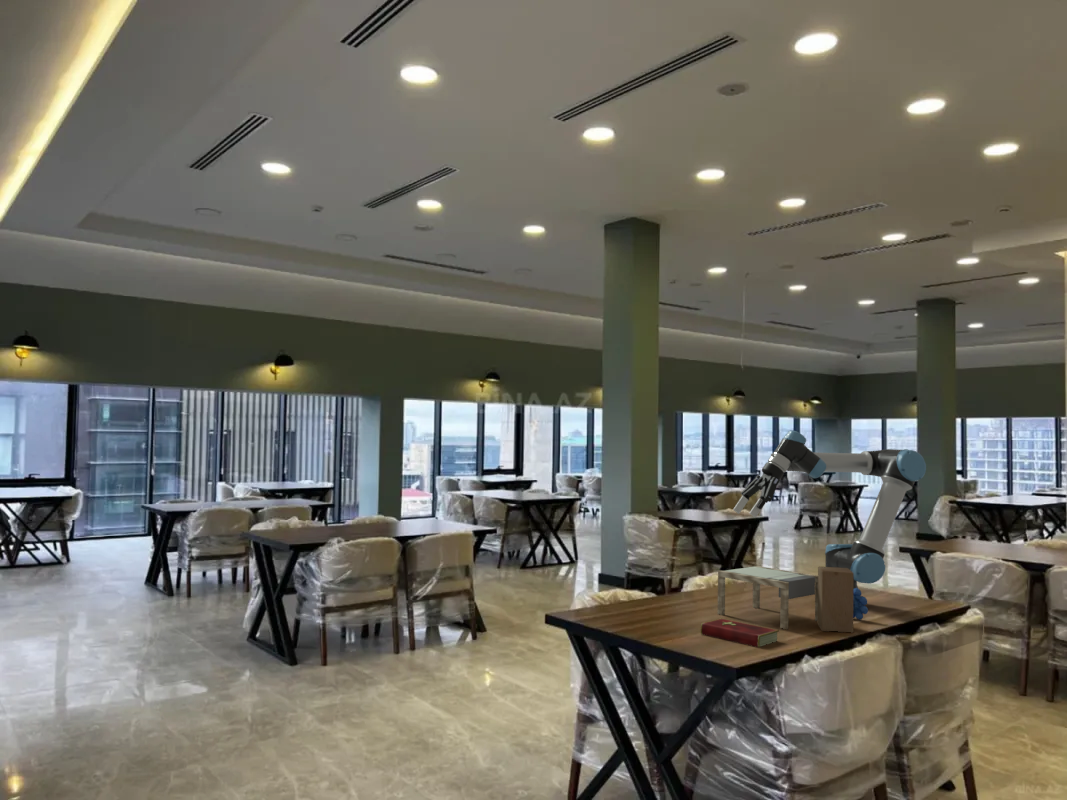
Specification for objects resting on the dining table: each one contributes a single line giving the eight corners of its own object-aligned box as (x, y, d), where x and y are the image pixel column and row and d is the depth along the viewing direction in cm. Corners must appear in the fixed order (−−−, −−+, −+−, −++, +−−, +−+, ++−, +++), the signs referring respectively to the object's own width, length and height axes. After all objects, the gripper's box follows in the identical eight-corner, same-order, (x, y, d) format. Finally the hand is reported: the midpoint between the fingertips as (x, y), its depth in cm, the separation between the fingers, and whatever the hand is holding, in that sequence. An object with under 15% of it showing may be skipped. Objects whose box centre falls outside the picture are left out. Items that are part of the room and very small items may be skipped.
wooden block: (853, 633, 268) (853, 572, 268) (821, 631, 270) (822, 570, 270) (847, 626, 277) (848, 567, 278) (817, 624, 279) (817, 566, 280)
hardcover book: (758, 649, 246) (758, 634, 246) (700, 635, 261) (700, 622, 261) (778, 642, 254) (779, 629, 255) (721, 630, 270) (721, 617, 270)
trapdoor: (817, 593, 285) (817, 576, 285) (786, 599, 273) (786, 581, 273) (754, 582, 305) (754, 566, 305) (723, 587, 293) (723, 570, 293)
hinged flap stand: (822, 621, 285) (823, 576, 286) (785, 629, 271) (785, 582, 271) (755, 607, 307) (755, 565, 307) (717, 614, 292) (718, 570, 293)
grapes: (830, 617, 291) (830, 583, 292) (839, 615, 296) (839, 581, 296) (862, 623, 283) (862, 588, 283) (870, 620, 287) (871, 586, 288)
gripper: (752, 460, 314) (722, 504, 310) (784, 462, 289) (751, 510, 286) (767, 471, 315) (736, 516, 311) (800, 475, 290) (767, 523, 287)
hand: (743, 513), depth 299 cm, fingers open, 13 cm apart
